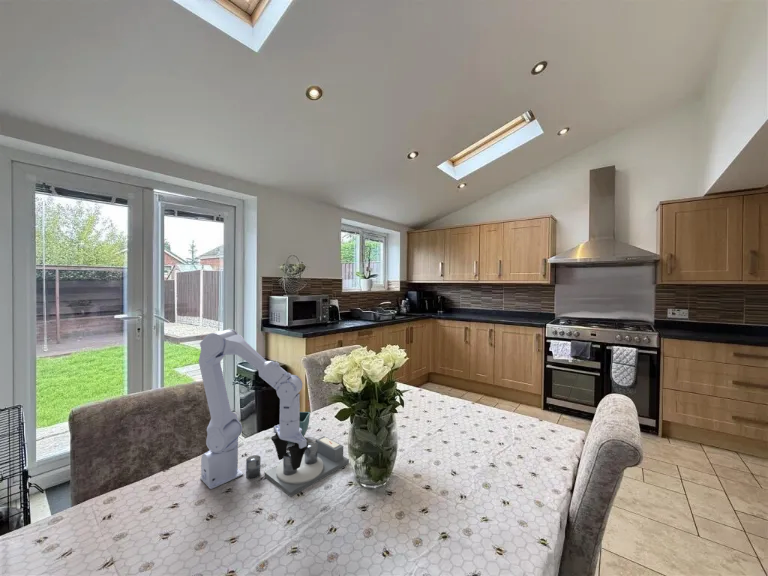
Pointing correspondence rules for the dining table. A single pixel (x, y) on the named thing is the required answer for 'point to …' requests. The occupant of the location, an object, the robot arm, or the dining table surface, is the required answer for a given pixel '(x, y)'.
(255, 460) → the cylinder
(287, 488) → the scale
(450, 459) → the dining table surface
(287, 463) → the cylinder
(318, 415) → the dining table surface
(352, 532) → the dining table surface
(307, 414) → the flower pot
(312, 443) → the cylinder
